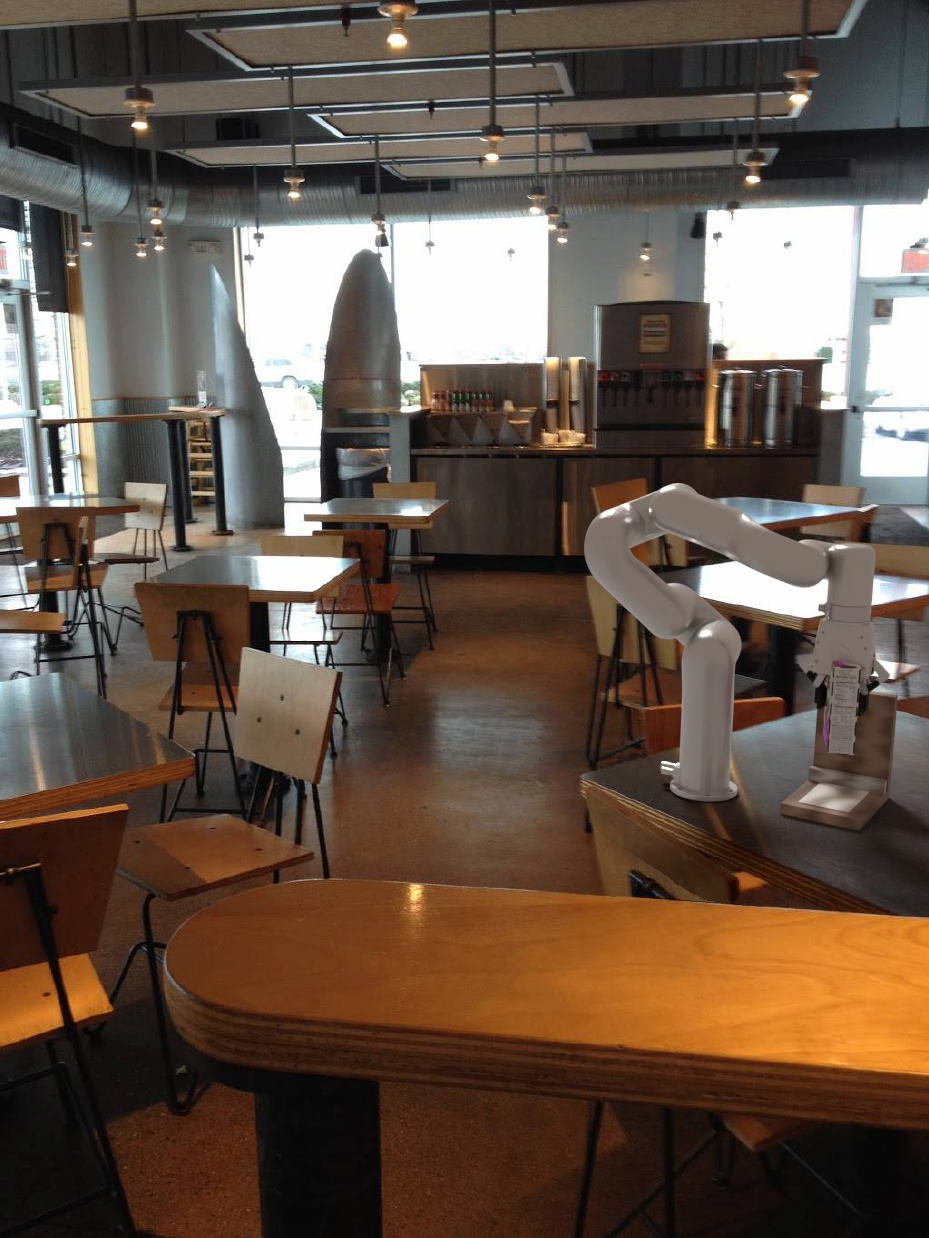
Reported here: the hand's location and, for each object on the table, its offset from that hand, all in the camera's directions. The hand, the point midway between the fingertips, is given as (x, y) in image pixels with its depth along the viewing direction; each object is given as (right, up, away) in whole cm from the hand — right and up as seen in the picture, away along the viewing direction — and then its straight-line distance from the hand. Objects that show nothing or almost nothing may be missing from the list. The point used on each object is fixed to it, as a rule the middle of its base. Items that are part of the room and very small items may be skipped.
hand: (840, 710), depth 200 cm
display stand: (+1, -18, +4) cm, 18 cm away
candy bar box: (0, -7, +1) cm, 7 cm away
